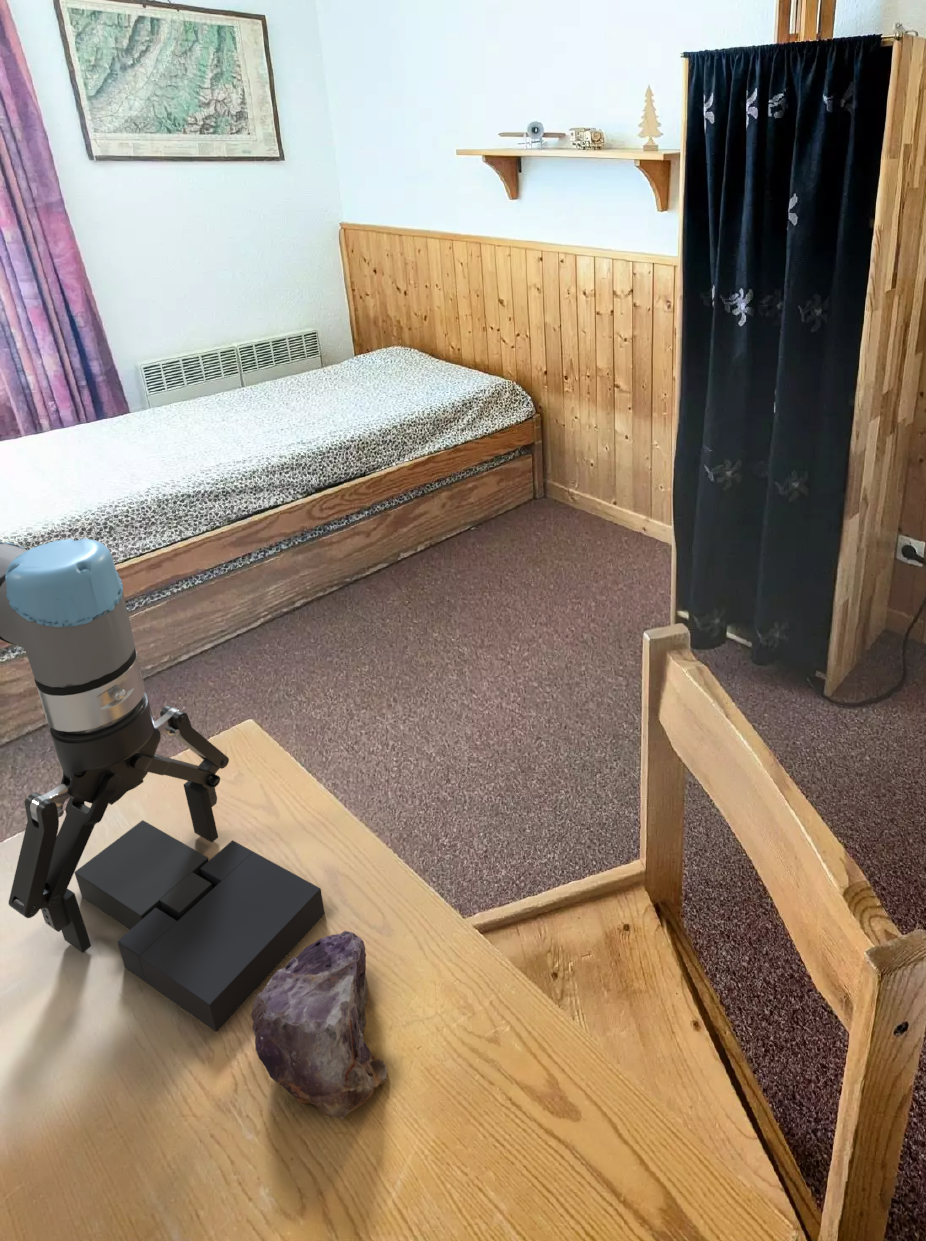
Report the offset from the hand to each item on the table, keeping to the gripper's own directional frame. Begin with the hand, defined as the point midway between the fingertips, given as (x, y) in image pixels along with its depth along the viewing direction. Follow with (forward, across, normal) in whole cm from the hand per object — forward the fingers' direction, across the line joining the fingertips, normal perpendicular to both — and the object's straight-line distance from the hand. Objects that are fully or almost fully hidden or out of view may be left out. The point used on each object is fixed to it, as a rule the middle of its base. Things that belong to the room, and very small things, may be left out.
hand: (146, 885), depth 78 cm
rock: (+2, -3, -26) cm, 27 cm away
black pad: (+1, 0, -2) cm, 2 cm away
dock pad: (+1, 0, -12) cm, 12 cm away
